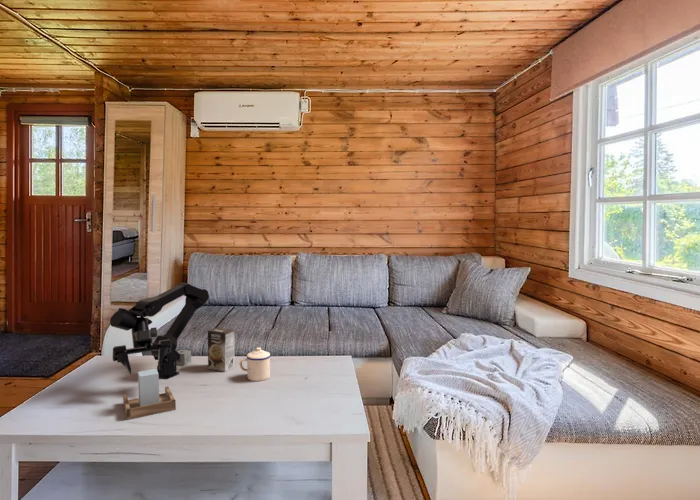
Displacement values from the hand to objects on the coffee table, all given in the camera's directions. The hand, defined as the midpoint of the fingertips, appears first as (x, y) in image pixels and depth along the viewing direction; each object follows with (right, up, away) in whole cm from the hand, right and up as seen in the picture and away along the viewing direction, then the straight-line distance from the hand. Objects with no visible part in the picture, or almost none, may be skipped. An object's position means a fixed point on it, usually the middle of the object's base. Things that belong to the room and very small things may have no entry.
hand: (145, 371), depth 148 cm
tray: (+4, -10, -7) cm, 12 cm away
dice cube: (-1, -7, +36) cm, 37 cm away
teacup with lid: (+33, -8, +20) cm, 40 cm away
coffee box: (+17, -7, +30) cm, 36 cm away
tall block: (+4, -9, -7) cm, 12 cm away
